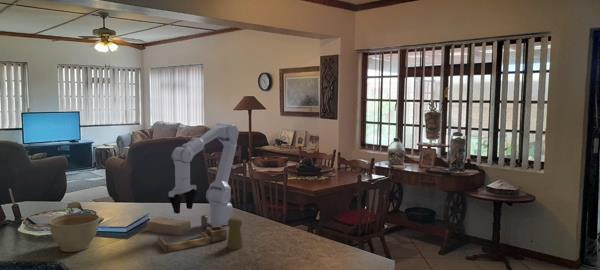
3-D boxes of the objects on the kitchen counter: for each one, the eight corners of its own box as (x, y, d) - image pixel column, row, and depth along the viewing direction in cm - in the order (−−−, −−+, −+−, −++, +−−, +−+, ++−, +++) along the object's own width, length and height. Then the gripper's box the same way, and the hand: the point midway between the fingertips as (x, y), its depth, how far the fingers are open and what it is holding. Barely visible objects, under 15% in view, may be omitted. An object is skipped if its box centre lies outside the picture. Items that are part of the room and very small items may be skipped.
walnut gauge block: (220, 235, 174) (220, 225, 173) (226, 239, 169) (226, 229, 168) (206, 237, 170) (206, 227, 170) (211, 242, 165) (211, 232, 165)
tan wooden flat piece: (200, 235, 173) (200, 229, 172) (210, 243, 164) (210, 237, 163) (157, 243, 163) (157, 236, 163) (166, 252, 154) (166, 245, 154)
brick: (191, 230, 180) (191, 219, 180) (180, 236, 173) (180, 224, 172) (158, 226, 186) (158, 215, 185) (145, 232, 178) (145, 220, 177)
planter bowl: (49, 259, 147) (47, 227, 146) (51, 244, 161) (50, 215, 160) (101, 251, 154) (100, 222, 153) (98, 238, 168) (98, 210, 167)
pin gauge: (206, 234, 175) (206, 214, 174) (208, 235, 173) (208, 216, 172) (200, 235, 173) (200, 215, 173) (202, 236, 171) (202, 217, 171)
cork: (246, 245, 163) (246, 216, 162) (238, 250, 157) (238, 220, 156) (231, 243, 165) (231, 214, 164) (223, 248, 159) (223, 219, 158)
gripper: (186, 173, 179) (186, 205, 181) (162, 179, 166) (162, 214, 168) (200, 174, 177) (200, 207, 178) (176, 181, 163) (177, 216, 165)
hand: (183, 210), depth 173 cm, fingers open, 7 cm apart
